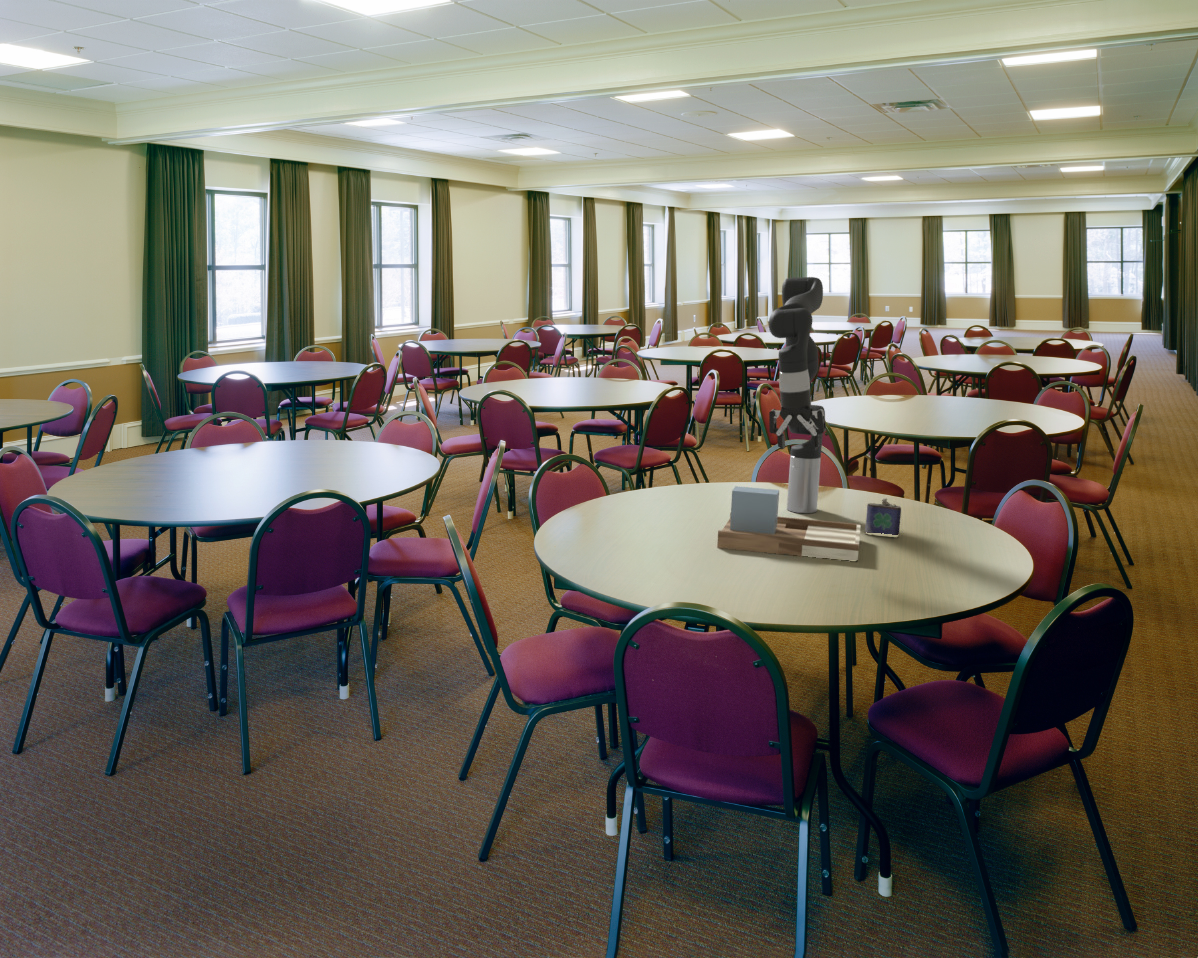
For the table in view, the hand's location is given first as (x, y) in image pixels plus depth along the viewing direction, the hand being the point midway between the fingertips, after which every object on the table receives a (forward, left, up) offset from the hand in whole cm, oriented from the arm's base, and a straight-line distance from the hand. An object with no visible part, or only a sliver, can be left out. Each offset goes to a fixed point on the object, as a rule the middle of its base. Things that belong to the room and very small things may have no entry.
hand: (798, 448), depth 231 cm
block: (-5, -11, -24) cm, 27 cm away
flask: (-23, +23, -27) cm, 43 cm away
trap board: (-5, -1, -27) cm, 28 cm away
